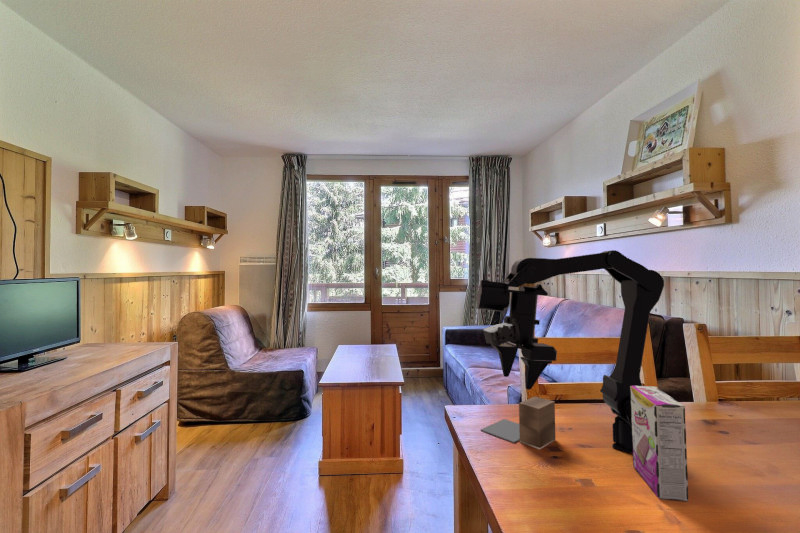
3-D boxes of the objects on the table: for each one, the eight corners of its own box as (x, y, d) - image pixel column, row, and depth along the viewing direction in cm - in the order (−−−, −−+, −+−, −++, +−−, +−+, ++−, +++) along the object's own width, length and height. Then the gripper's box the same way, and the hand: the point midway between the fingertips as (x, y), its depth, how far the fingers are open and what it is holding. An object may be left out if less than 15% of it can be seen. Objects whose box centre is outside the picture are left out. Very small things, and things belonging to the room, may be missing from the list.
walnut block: (555, 440, 88) (554, 401, 88) (539, 449, 84) (538, 408, 84) (535, 433, 92) (534, 396, 92) (519, 442, 88) (518, 403, 88)
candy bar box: (631, 467, 76) (628, 384, 76) (659, 469, 75) (656, 385, 75) (657, 500, 65) (654, 403, 65) (690, 503, 64) (687, 405, 64)
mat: (537, 430, 94) (537, 429, 94) (514, 443, 87) (514, 441, 87) (504, 420, 101) (504, 418, 101) (480, 430, 94) (480, 429, 94)
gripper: (472, 306, 93) (466, 370, 92) (513, 317, 75) (506, 396, 74) (512, 309, 95) (507, 371, 95) (561, 320, 77) (554, 397, 77)
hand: (516, 382), depth 85 cm, fingers open, 9 cm apart
